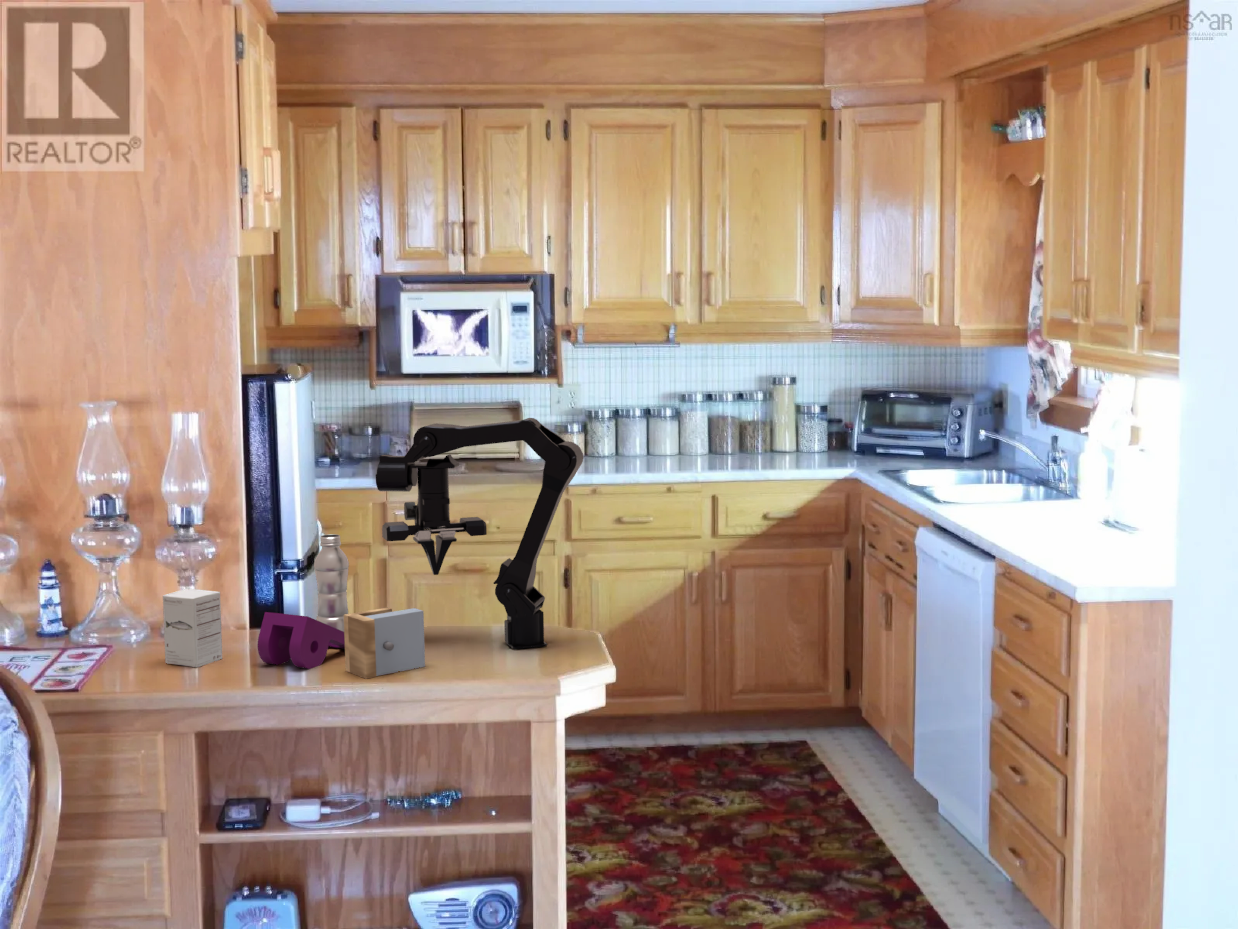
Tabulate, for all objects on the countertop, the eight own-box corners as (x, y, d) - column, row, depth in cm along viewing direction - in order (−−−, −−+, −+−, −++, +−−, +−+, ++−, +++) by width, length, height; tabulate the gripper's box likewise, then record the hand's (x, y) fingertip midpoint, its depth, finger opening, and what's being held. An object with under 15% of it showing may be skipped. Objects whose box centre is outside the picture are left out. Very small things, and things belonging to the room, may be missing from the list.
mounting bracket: (312, 680, 276) (252, 658, 261) (323, 636, 278) (264, 611, 263) (353, 685, 272) (295, 663, 256) (364, 640, 274) (307, 616, 259)
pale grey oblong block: (414, 663, 263) (413, 607, 262) (428, 668, 259) (427, 611, 258) (364, 672, 257) (362, 615, 256) (378, 677, 253) (376, 620, 252)
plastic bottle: (309, 639, 282) (305, 536, 280) (340, 634, 287) (336, 532, 284) (327, 645, 277) (323, 539, 275) (358, 639, 282) (354, 535, 280)
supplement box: (163, 664, 265) (160, 595, 263) (192, 655, 271) (189, 587, 270) (196, 668, 261) (193, 598, 260) (224, 659, 268) (221, 590, 267)
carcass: (389, 662, 263) (387, 607, 262) (410, 670, 258) (408, 613, 257) (345, 670, 258) (343, 614, 257) (365, 678, 252) (364, 621, 251)
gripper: (472, 484, 286) (474, 564, 287) (376, 489, 280) (378, 570, 281) (486, 491, 275) (488, 573, 277) (386, 496, 269) (388, 581, 271)
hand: (435, 574), depth 277 cm, fingers closed
